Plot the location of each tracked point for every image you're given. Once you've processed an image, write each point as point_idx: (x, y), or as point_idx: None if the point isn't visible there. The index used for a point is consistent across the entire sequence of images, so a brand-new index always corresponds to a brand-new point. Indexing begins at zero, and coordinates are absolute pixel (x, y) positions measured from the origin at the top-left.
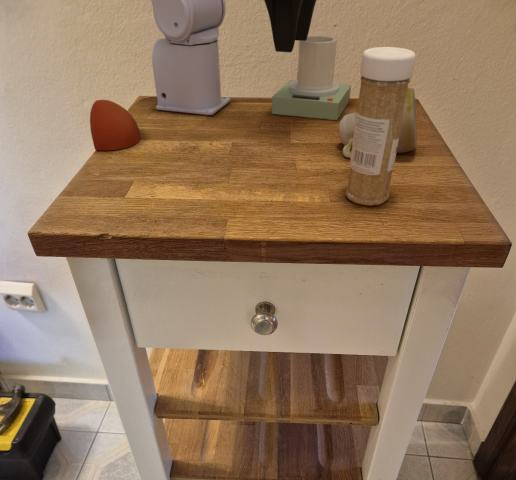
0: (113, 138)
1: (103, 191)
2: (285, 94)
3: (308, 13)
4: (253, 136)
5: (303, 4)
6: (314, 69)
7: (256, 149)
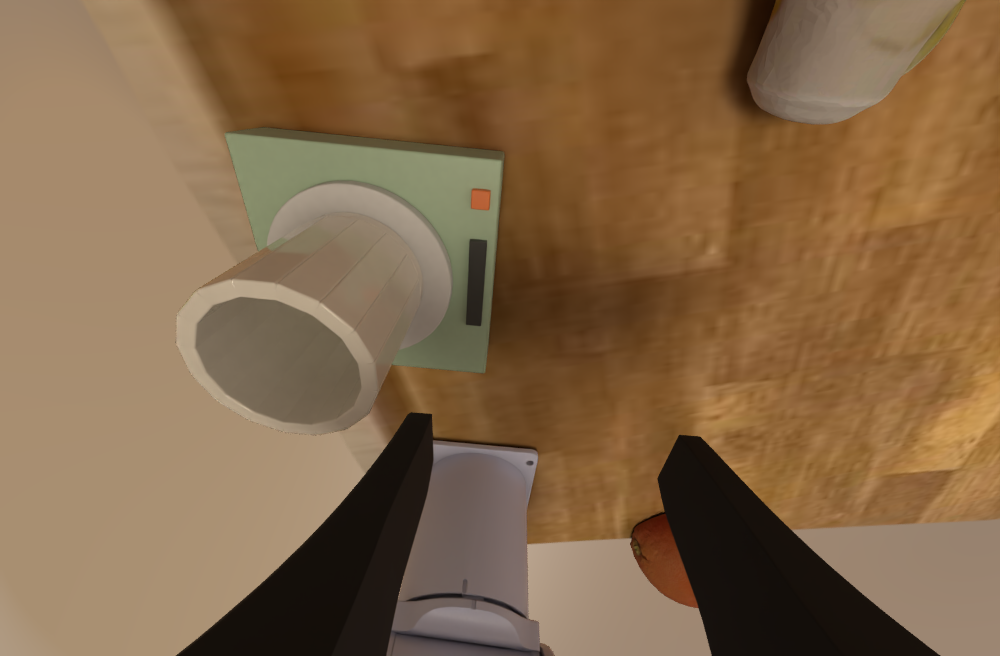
0: None
1: (916, 495)
2: (451, 345)
3: (392, 516)
4: (665, 355)
5: (383, 584)
6: (407, 306)
7: (760, 334)
